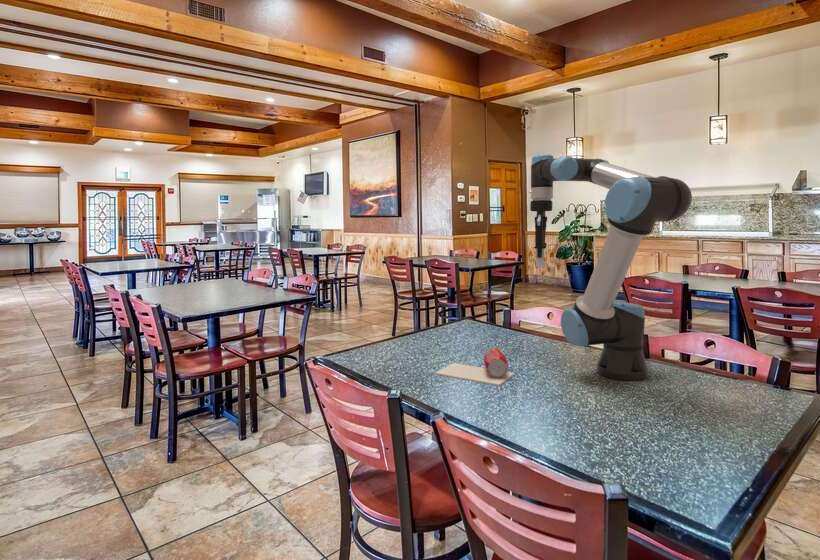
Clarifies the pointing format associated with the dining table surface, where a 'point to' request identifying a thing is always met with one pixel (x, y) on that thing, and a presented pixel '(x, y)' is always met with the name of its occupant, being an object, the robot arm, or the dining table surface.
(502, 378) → the mat
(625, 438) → the dining table surface
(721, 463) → the dining table surface
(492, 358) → the soda can
